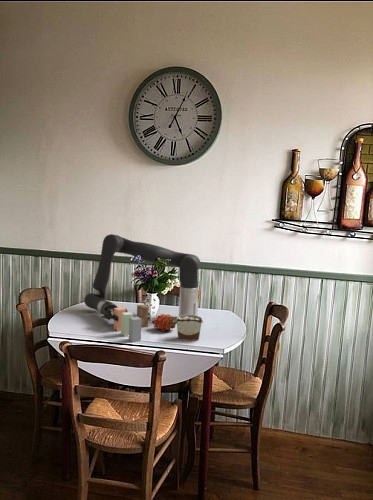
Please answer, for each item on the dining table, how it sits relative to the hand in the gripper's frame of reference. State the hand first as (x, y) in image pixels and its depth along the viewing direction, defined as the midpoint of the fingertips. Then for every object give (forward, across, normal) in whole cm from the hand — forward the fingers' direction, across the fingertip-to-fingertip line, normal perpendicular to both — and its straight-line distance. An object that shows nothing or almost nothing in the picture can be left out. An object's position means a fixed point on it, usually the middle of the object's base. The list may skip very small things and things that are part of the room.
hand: (122, 318), depth 214 cm
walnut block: (-3, +12, +6) cm, 14 cm away
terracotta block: (-3, 0, +6) cm, 7 cm away
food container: (+21, +23, +6) cm, 32 cm away
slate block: (+13, 0, +6) cm, 15 cm away
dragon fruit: (+7, +18, +6) cm, 21 cm away
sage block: (+5, 0, +6) cm, 8 cm away
